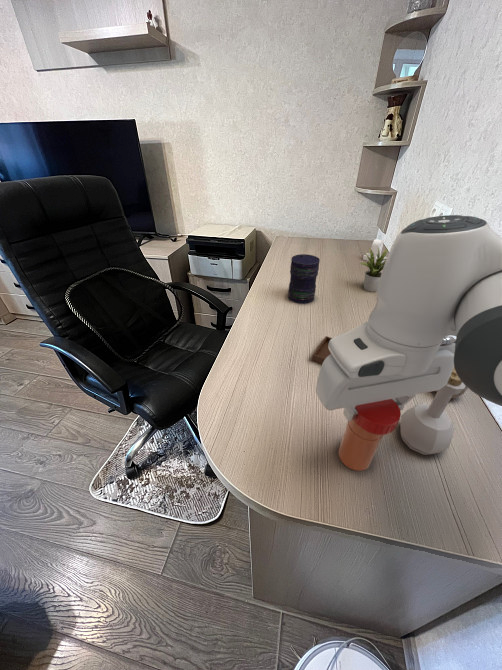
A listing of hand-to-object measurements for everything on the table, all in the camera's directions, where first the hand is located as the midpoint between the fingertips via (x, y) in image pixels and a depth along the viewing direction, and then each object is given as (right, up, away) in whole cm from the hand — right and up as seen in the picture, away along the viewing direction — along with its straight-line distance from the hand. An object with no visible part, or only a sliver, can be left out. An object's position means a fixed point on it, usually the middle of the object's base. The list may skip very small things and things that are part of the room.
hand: (372, 412), depth 45 cm
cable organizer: (+41, +49, +91) cm, 112 cm away
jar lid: (0, +1, -1) cm, 2 cm away
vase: (+25, -1, +20) cm, 32 cm away
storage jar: (-1, +27, +59) cm, 65 cm away
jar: (0, -10, +7) cm, 12 cm away
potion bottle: (+13, -8, +10) cm, 18 cm away
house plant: (+28, +30, +64) cm, 76 cm away
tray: (+4, +6, +30) cm, 31 cm away
